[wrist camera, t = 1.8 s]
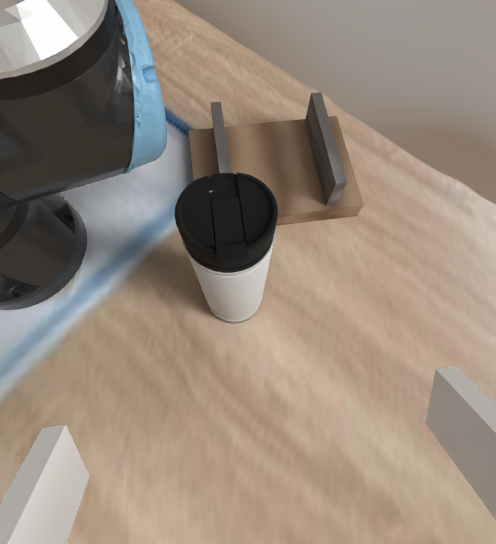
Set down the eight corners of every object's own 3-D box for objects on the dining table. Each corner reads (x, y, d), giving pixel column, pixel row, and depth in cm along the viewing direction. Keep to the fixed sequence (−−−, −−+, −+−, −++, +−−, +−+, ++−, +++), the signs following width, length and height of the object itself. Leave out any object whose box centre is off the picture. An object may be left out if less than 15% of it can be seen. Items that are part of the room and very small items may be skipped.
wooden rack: (200, 234, 40) (191, 204, 34) (191, 144, 45) (182, 102, 38) (356, 215, 41) (378, 183, 35) (331, 130, 46) (346, 86, 39)
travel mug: (210, 330, 36) (174, 265, 17) (205, 274, 38) (169, 164, 20) (265, 323, 36) (289, 252, 18) (257, 268, 39) (271, 154, 20)
